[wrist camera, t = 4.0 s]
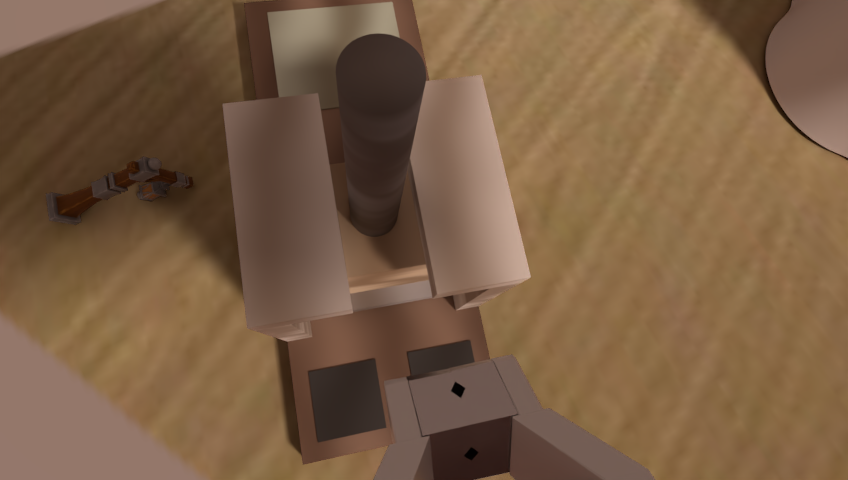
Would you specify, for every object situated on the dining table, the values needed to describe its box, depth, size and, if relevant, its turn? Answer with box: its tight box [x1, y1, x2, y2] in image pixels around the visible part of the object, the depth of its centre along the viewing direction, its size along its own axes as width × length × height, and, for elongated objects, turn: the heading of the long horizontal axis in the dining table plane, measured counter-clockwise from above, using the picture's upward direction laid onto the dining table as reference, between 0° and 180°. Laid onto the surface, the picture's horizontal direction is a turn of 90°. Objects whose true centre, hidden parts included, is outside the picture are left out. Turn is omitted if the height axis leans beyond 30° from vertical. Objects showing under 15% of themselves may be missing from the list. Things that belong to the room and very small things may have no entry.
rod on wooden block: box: [330, 33, 432, 312], centre depth 22 cm, size 7×8×19 cm
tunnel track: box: [223, 0, 531, 464], centre depth 28 cm, size 12×31×12 cm, turn 11°
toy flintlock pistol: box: [46, 156, 193, 225], centre depth 31 cm, size 2×8×4 cm, turn 107°
